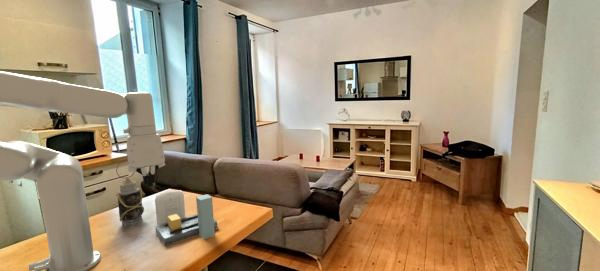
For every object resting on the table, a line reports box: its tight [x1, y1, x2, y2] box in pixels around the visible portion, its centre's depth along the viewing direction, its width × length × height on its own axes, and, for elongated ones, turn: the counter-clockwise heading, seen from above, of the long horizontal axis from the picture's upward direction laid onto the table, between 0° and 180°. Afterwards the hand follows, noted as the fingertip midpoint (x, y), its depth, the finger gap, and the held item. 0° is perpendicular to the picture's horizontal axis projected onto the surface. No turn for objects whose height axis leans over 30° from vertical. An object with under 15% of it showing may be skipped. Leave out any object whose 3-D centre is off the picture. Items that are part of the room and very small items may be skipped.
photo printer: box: [154, 189, 186, 226], centre depth 108 cm, size 10×4×12 cm, turn 123°
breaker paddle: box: [168, 214, 182, 230], centre depth 97 cm, size 3×5×4 cm, turn 40°
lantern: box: [115, 159, 145, 228], centre depth 105 cm, size 9×8×25 cm
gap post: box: [195, 193, 216, 240], centre depth 96 cm, size 4×4×14 cm
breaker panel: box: [155, 213, 219, 247], centre depth 100 cm, size 18×12×3 cm, turn 130°
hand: (149, 186), depth 91 cm, fingers closed
